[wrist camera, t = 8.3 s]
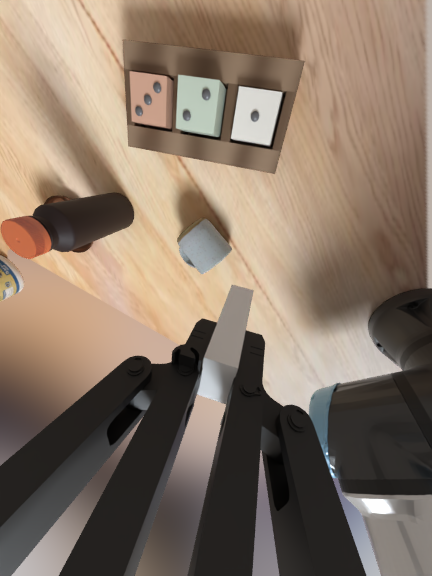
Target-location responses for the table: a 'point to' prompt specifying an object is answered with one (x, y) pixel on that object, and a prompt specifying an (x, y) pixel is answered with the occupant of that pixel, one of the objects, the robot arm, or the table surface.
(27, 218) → the bottle
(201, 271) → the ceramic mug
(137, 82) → the three pip tile
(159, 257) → the table surface
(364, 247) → the table surface
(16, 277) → the supplement tub
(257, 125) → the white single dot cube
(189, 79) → the two pip tile
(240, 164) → the wooden tile tray
